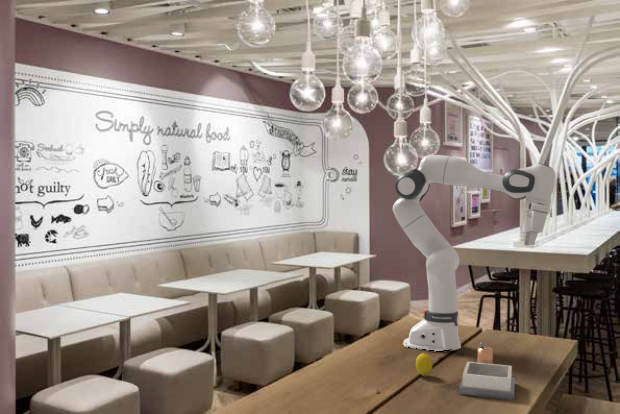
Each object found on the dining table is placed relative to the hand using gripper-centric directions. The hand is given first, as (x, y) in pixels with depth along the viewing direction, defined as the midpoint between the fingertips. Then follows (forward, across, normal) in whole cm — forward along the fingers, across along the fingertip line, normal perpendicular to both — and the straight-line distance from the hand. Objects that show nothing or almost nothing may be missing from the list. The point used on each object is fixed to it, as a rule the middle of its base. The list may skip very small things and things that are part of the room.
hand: (528, 245), depth 224 cm
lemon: (+52, +21, -28) cm, 63 cm away
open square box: (+49, +31, -8) cm, 58 cm away
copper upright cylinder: (+46, +13, -8) cm, 49 cm away
